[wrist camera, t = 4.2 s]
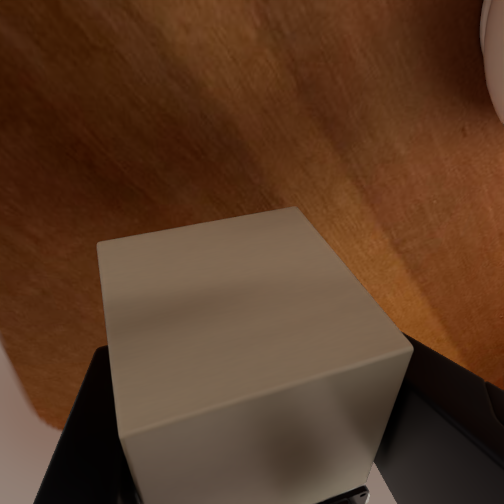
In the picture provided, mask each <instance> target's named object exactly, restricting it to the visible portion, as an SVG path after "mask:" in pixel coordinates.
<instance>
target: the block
mask: <svg viewBox="0 0 504 504" xmlns="http://www.w3.org/2000/svg"><path fill="white" fill-rule="evenodd" d="M97 255H98V263H99V272H100V280H101V289H102V298H103V306H104V315H105V323H106V332H107V341H108V349H109V358H110V366H111V375H112V384H113V392H114V401H115V409H116V418H117V427H118V435H119V439H120V442H121V445H122V448H123V451H124V454H125V457H126V460H127V463H128V466H129V469H130V472H131V475H132V478H133V481H134V484H135V487H136V490H137V494H138V497H139V500H140V503H141V504H314V503H317V502H319V501H322V500H324V499H327V498H329V497H332V496H334V495H337V494H340V493H342V492H345V491H347V490H350V489H352V488H355V487H357V486H360V485H363V484H365V483H366V481H367V478H368V475H369V473H370V470H371V467H372V464H373V462H374V459H375V456H376V453H377V450H378V448H379V445H380V442H381V439H382V437H383V434H384V431H385V428H386V425H387V423H388V420H389V417H390V414H391V412H392V409H393V406H394V403H395V400H396V398H397V395H398V392H399V389H400V387H401V384H402V381H403V378H404V375H405V373H406V370H407V367H408V364H409V362H410V359H411V356H412V353H413V350H414V349H413V346H412V344H411V343H410V342H409V341H408V339H407V338H406V337H405V336H404V335H403V333H402V332H401V331H400V330H399V329H398V327H397V326H396V325H395V324H394V323H393V321H392V320H391V319H390V318H389V317H388V315H387V314H386V313H385V312H384V311H383V309H382V308H381V307H380V306H379V305H378V303H377V302H376V301H375V300H374V299H373V297H372V296H371V295H370V294H369V293H368V291H367V290H366V289H365V288H364V287H363V285H362V284H361V283H360V282H359V281H358V279H357V278H356V277H355V276H354V275H353V273H352V272H351V271H350V270H349V269H348V267H347V266H346V265H345V264H344V263H343V261H342V260H341V259H340V258H339V257H338V255H337V254H336V253H335V252H334V251H333V249H332V248H331V247H330V246H329V245H328V243H327V242H326V241H325V240H324V239H323V237H322V236H321V235H320V234H319V233H318V231H317V230H316V229H315V228H314V227H313V225H312V224H311V223H310V222H309V220H308V219H307V218H306V217H305V216H304V214H303V213H302V212H301V211H300V210H299V208H298V207H295V206H293V207H288V208H282V209H277V210H271V211H266V212H260V213H255V214H249V215H244V216H238V217H233V218H227V219H222V220H216V221H211V222H205V223H200V224H194V225H189V226H183V227H178V228H172V229H167V230H161V231H156V232H150V233H145V234H139V235H134V236H128V237H123V238H117V239H112V240H106V241H101V242H98V243H97Z"/></svg>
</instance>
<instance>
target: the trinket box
mask: <svg viewBox="0 0 504 504" xmlns="http://www.w3.org/2000/svg"><path fill="white" fill-rule="evenodd" d="M480 42H481V50H482V53H483V56H484V69H485V77H486V84H487V88H488V91H489V94H490V97H491V100H492V103H493V106H494V108H495V111H496V114H497V116H498V117H499V119H500V120H501V122H502V124H503V125H504V0H484V2H483V6H482V13H481V20H480Z"/></svg>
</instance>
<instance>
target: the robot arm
mask: <svg viewBox="0 0 504 504" xmlns="http://www.w3.org/2000/svg"><path fill="white" fill-rule="evenodd" d="M402 333H403V332H402ZM403 335H404V336H405V337H406V338H407V339H408V341H409V342H410V343H411V344H412V346H413V349H414V350H413V353H412V356H411V359H410V362H409V364H408V367H407V370H406V373H405V375H404V378H403V381H402V384H401V387H400V389H399V392H398V395H397V398H396V400H395V403H394V406H393V409H392V412H391V414H390V417H389V420H388V423H387V425H386V428H385V431H384V434H383V437H382V439H381V442H380V445H379V448H378V450H377V453H376V456H375V459H374V463H375V464H376V466H377V468H378V470H379V471H380V473H381V475H382V477H383V479H384V480H385V482H386V484H387V486H388V488H389V490H390V491H391V493H392V495H393V497H394V499H395V500H396V502H397V504H504V391H503V390H502V389H500V388H498V387H497V386H495V385H493V384H491V383H490V382H487V381H486V382H485V381H484V379H482V378H481V377H479V376H477V375H476V374H474V373H472V372H470V371H469V370H467V369H465V368H463V367H462V366H460V365H458V364H457V363H455V362H453V361H451V360H450V359H448V358H446V357H444V356H443V355H441V354H439V353H438V352H436V351H434V350H432V349H431V348H429V347H427V346H425V345H424V344H422V343H420V342H419V341H417V340H415V339H413V338H412V337H410V336H408V335H406V334H405V333H403ZM368 494H369V490H368V488H367V487H366V486H365V485H364V486H360V487H358V488H355V489H353V490H350V491H348V492H345V493H343V494H340V495H338V496H335V497H332V498H330V499H327V500H325V501H322V502H320V503H317V504H365V502H366V500H367V497H368ZM33 504H141V503H140V500H139V497H138V494H137V490H136V487H135V484H134V481H133V478H132V475H131V472H130V469H129V466H128V463H127V460H126V457H125V454H124V451H123V448H122V445H121V442H120V439H119V435H118V427H117V418H116V409H115V401H114V392H113V384H112V375H111V366H110V358H109V349H108V345H106V346H102V347H99V348H97V349H96V351H95V353H94V355H93V358H92V360H91V363H90V365H89V368H88V370H87V373H86V375H85V377H84V380H83V382H82V385H81V387H80V390H79V392H78V395H77V397H76V400H75V402H74V405H73V407H72V409H71V412H70V414H69V417H68V419H67V422H66V424H65V427H64V429H63V432H62V434H61V437H60V439H59V441H58V444H57V446H56V449H55V451H54V454H53V456H52V459H51V461H50V464H49V466H48V469H47V471H46V474H45V476H44V478H43V481H42V483H41V486H40V488H39V491H38V493H37V496H36V498H35V501H34V503H33Z"/></svg>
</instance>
